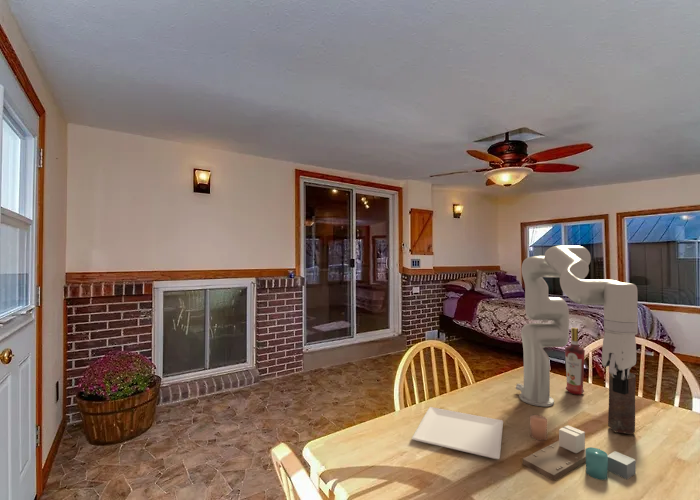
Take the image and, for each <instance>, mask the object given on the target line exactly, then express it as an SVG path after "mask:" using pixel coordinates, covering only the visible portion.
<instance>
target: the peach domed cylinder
mask: <svg viewBox="0 0 700 500" xmlns="http://www.w3.org/2000/svg"><path fill="white" fill-rule="evenodd" d="M529 417H530V419H529V420H530V421H529V425H530V426H529V429H530V432H529V434H530V437H532V438H533V439H535V440H537V441H547V440H548V419H547V418H546V417H545V416H543V415H539V414H532V415H530V416H529Z"/></svg>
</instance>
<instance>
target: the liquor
mask: <svg viewBox="0 0 700 500" xmlns="http://www.w3.org/2000/svg"><path fill="white" fill-rule="evenodd" d="M570 332H571V333H570V334H571V338H570V345H566V346H565V348H564V355H565V357H564V358H565V359H564V360H565V369H566V370H565V371H566V387H565V389H566V391H567V392H568V393H570V394H572V395H577V396H581V395H582V394H584V393H585V390H584V373H585V371H584V370H585V369H584V368H585V355H586V353H585V352H586V350H585V349H584V348H583V347H581V346H580V345H579V344H580V343H579V336H578V335H579V328H578V327H570Z"/></svg>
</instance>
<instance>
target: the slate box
mask: <svg viewBox="0 0 700 500" xmlns="http://www.w3.org/2000/svg"><path fill="white" fill-rule="evenodd" d="M607 455H608V472H610V473H612V474H614V475H616V476H619V477H621V478H623V479H625V480H629V479H630V478H631V477H633V476H635V475H636V471H637V470H636V469H637V467H636V463H637V461H636V460H637V459H634V458H633V457H630V456H627V455H625V454H623V453H621V452H619V451H616V450H614V451H613V452H611V453H609V454H607Z"/></svg>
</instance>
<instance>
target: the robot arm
mask: <svg viewBox="0 0 700 500" xmlns="http://www.w3.org/2000/svg"><path fill="white" fill-rule="evenodd" d="M591 259H592V256H591V253H590V251H589V250H588V249H587V248H586V247H584V246H581V245H555V246H554V245H553V246H551V247H549V248H548V249H546V250H545V252H544V255H534V256H532V255H531V256H529V257H526V258H525V259H524V260H523V261H522V264H521V276H522V279H523V282H524V290H525V291H524V310H525V315H526V318H528V319H530V320H533V321H551V322H549V323H546V322H538V323H537V322H536V323H535V322H531V323H527V324H524V325H523V326H522V328H521V331H520V337H521V343H522V348H523V350H522V351H523V384H521V383H516V385H515V389H516V390H517V391H520V394H519V399H520V401H522V402H524V403H525V404H529V405H532V406H536V407H545V408H546V407H551V406H553V405H554V404H555V400H554V398H553V397H551V396H550V394H551V393H550V391H551V388H550V387H551V386H550V383H551V382H550V381H551V379H550V377H551V376H550V374H551V372H550V369H551V368H550V365H551V363H550V357H549V355H548V354H547V352H546V351H545V350H544V348H563V347H566V346H568V345H567V344H569V343H568V342H569V338H570V310H569V306H568V303H567V302H566V300H565V299H564V298H562V297H558V296H557V297H556V296H554V297H553V296H549V285H548V283H547V282H546V280H545V279H544V278H559V285H560V288H561V290H562V292H563V294H565V296H566V297H567V298H568V299H570V300H571V301H572V302H574V303H576V304H578V305H585V306H586V305H593V306H594V305H595V306H596V305H598V306H599V305H601V306H603V331H604V334H603V339H602V340H603V341H602V349H601V350H602V351H601V365H602V366H603V367H605V368H606V367H609V368H608V373H609V375H610V374H612V377H613V391H614V392H617V393H621V394H624V395H625V394H628V393H629V383H628V378H629V373H630V370H632V369H631V368H632V367H634V366H635V365H636V364H637V344H636V342H637V340H636V335H638V333H639V331H638V330H639V329H638V325H639V324H638V323H639V322H638V318H639V317H638V311H639V310H638V304H639V303H638V302H639V301H638V296H639V295H638V287H637V285H636V284H635V283H630V282H626V281H625V282H622V281H619V280H616V279H615V280H614V279H599V278H598V279H585V278H586V277H587V276H588V274H589V272H590V269H589V265H590V263H591V261H592V260H591Z"/></svg>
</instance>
